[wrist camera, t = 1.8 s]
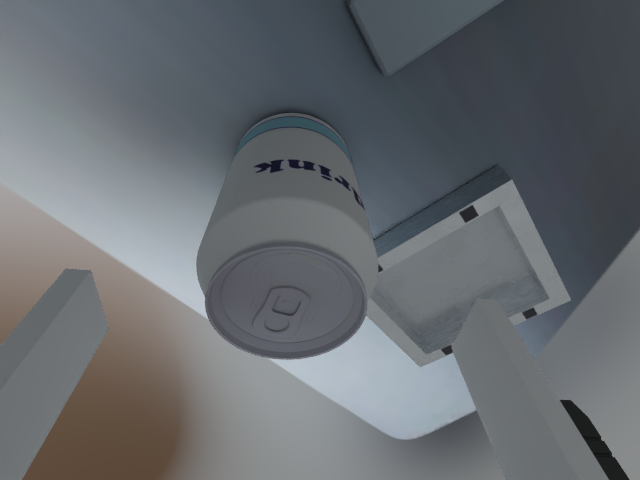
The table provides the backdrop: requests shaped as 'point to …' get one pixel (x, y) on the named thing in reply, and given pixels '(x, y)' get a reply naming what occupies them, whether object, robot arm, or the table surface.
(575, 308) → the table surface
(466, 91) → the table surface
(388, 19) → the bracket
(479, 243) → the rail plate
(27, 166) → the table surface
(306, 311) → the beverage can
